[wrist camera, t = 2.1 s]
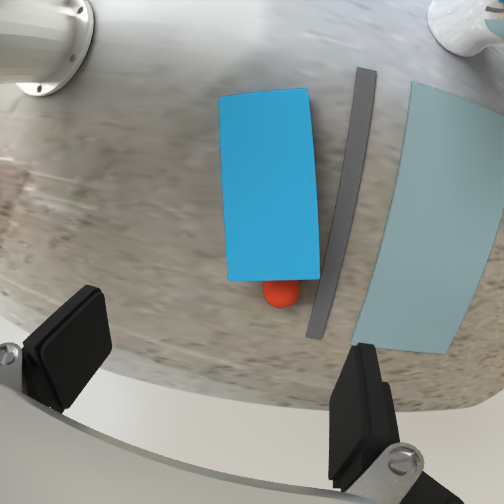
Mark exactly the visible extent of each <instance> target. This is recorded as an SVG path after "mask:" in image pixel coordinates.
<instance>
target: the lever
mask: <svg viewBox="0 0 504 504" xmlns="http://www.w3.org/2000/svg"><path fill="white" fill-rule="evenodd" d="M218 99H219V125H220V148H221V169H222V188H223V206H224V223H225V239H226V255H227V269H228V280H229V281H265V283H264V285H263V294H264V297H265V299H266V301H267V302H268V303H269V304H270V305H272V306H273V307H276V308H287V307H289V306H291V305H293V304H294V303H295V302H296V301H297V299H298V297H299V294H300V286H299V282H298V280H309V279H320V255H319V228H318V207H317V190H316V174H315V161H314V148H313V136H312V125H311V115H310V105H309V96H308V89H307V88H299V89H285V90H273V91H263V92H254V93H245V94H238V95H230V96H223V97H219V98H218Z"/></svg>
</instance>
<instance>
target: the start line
mask: <svg viewBox="0 0 504 504" xmlns="http://www.w3.org/2000/svg"><path fill="white" fill-rule="evenodd" d="M376 72H377V71H373V70H368V69H364V68H359V67H357V72H356V80H355V89H354V96H353V104H352V111H351V118H350V125H349V132H348V138H347V145H346V151H345V157H344V163H343V169H342V175H341V180H340V186H339V191H338V197H337V202H336V207H335V212H334V217H333V222H332V227H331V232H330V237H329V241H328V246H327V251H326V255H325V260H324V264H323V269H322V273H321V277H320V282H319V286H318V290H317V294H316V298H315V302H314V306H313V310H312V314H311V318H310V322H309V326H308V330H307V334H306V337H307V338H313V339H320V340H321V338H322V334H323V331H324V328H325V324H326V321H327V317H328V314H329V310H330V307H331V303H332V299H333V296H334V292H335V288H336V284H337V281H338V277H339V273H340V269H341V265H342V261H343V257H344V253H345V248H346V244H347V240H348V236H349V231H350V227H351V222H352V218H353V213H354V208H355V204H356V199H357V194H358V189H359V183H360V178H361V173H362V167H363V162H364V156H365V150H366V144H367V138H368V132H369V125H370V119H371V112H372V104H373V97H374V89H375V81H376Z"/></svg>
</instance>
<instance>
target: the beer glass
mask: <svg viewBox="0 0 504 504" xmlns="http://www.w3.org/2000/svg"><path fill="white" fill-rule="evenodd" d="M427 21H428V25H429V28H430V30H431V32H432V34H433V35H434V37H435V38H436V39H437V41H438V42H439V43H440V44H441V45H442V46H443V47H444V48H445V49H447V50H448V51H450V52H452V53H453V54H456V55H459V56H463V57H471V56H474V55H477V54H478V53H480V52H481V51H482V50H483V49H485V48H486V47H488V46H492V45H501V46H504V0H433V1H432V2H431V3H430V5H429V7H428V10H427Z"/></svg>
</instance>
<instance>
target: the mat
mask: <svg viewBox="0 0 504 504" xmlns="http://www.w3.org/2000/svg"><path fill="white" fill-rule="evenodd" d="M503 209H504V116H503V115H501V114H499V113H497V112H495V111H492V110H490V109H488V108H486V107H483V106H481V105H478V104H476V103H474V102H471V101H469V100H466V99H464V98H461V97H458V96H456V95H453V94H450V93H448V92H445V91H442V90H439V89H436V88H433V87H430V86H427V85H424V84H421V83H418V82H414V81H412V83H411V92H410V100H409V107H408V115H407V121H406V128H405V134H404V140H403V146H402V152H401V157H400V163H399V168H398V173H397V178H396V183H395V187H394V192H393V197H392V201H391V205H390V210H389V214H388V218H387V222H386V226H385V230H384V234H383V238H382V242H381V245H380V249H379V253H378V256H377V260H376V263H375V267H374V270H373V274H372V277H371V280H370V284H369V287H368V290H367V293H366V296H365V299H364V303H363V306H362V309H361V312H360V315H359V318H358V321H357V323H356V326H355V329H354V332H353V335H352V338H351V340H350V344H351V345H357V344H358V343H359V342H360V343H368V344H374V346H375V348H384V349H393V350H403V351H413V352H424V353H436V354H446V352H447V350H448V348H449V346H450V344H451V342H452V340H453V338H454V336H455V334H456V332H457V330H458V328H459V326H460V324H461V322H462V320H463V318H464V316H465V313H466V311H467V309H468V307H469V305H470V302H471V300H472V298H473V295H474V293H475V291H476V288H477V286H478V283H479V281H480V278H481V276H482V273H483V270H484V268H485V265H486V262H487V260H488V257H489V254H490V251H491V248H492V245H493V242H494V239H495V236H496V233H497V230H498V226H499V223H500V219H501V216H502V212H503Z"/></svg>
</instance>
